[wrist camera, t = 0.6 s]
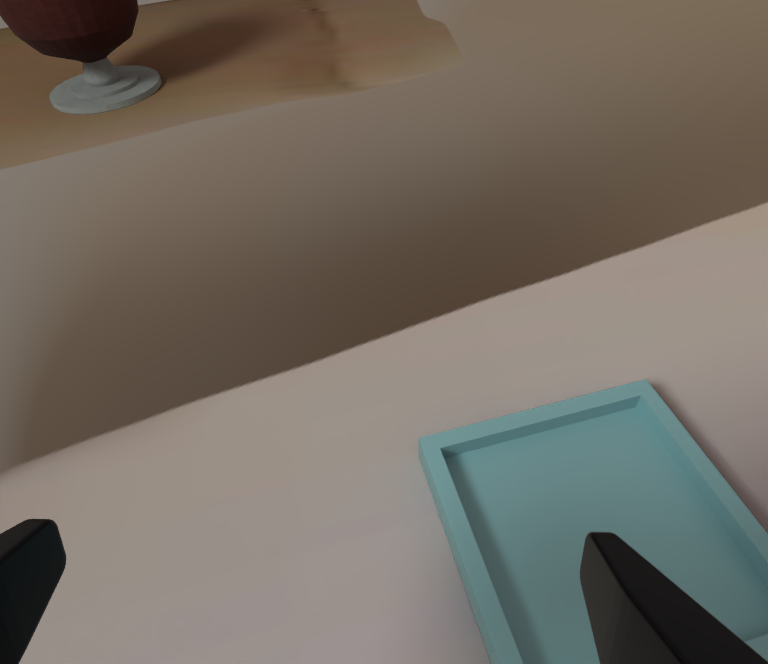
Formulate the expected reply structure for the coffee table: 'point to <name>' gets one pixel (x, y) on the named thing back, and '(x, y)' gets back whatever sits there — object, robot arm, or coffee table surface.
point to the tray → (589, 519)
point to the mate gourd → (84, 49)
